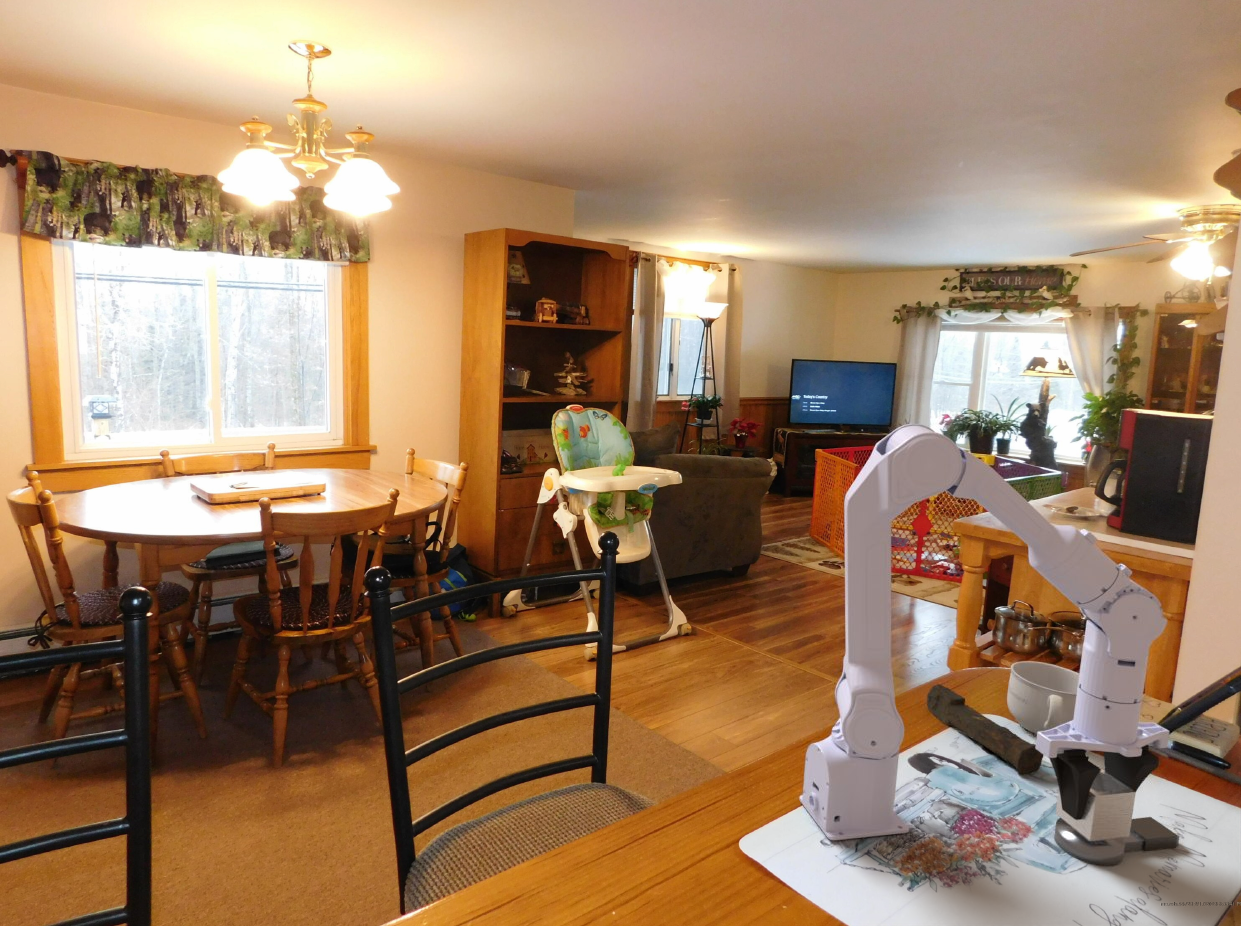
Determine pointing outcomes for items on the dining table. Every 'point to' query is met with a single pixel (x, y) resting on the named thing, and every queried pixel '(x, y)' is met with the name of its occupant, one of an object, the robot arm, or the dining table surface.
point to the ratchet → (1114, 842)
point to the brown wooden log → (983, 730)
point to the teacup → (1041, 695)
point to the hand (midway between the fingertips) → (1092, 812)
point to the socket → (1104, 809)
